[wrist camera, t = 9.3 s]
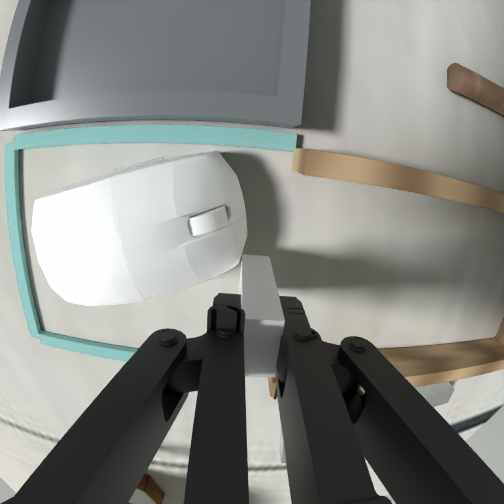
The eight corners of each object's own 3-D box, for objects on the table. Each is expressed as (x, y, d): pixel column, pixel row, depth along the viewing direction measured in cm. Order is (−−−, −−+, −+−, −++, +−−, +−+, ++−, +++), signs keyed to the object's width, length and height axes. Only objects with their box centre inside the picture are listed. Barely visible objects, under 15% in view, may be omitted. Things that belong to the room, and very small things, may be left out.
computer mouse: (253, 251, 19) (259, 302, 13) (69, 282, 19) (22, 329, 13) (234, 143, 16) (230, 141, 11) (43, 193, 17) (-19, 217, 11)
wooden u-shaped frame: (266, 362, 21) (270, 396, 18) (294, 148, 16) (307, 149, 13) (497, 346, 23) (515, 365, 19) (542, 208, 18) (568, 218, 15)
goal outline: (35, 338, 20) (32, 341, 20) (9, 136, 15) (5, 136, 14) (264, 370, 21) (265, 374, 21) (295, 134, 16) (297, 133, 16)
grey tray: (22, 130, 15) (-6, 131, 12) (50, -16, 11) (29, -29, 8) (290, 128, 16) (301, 124, 13) (303, -35, 12) (313, -59, 9)
